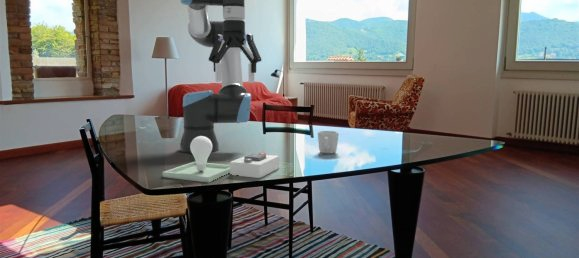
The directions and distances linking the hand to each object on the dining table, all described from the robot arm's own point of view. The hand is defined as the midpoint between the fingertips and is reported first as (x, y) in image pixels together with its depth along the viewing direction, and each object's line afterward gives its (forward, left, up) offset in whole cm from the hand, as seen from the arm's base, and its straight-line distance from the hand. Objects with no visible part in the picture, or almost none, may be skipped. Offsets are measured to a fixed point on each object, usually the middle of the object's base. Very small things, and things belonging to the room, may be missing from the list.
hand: (234, 82), depth 149 cm
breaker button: (+16, -16, -26) cm, 35 cm away
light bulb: (+2, -25, -27) cm, 37 cm away
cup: (+28, +21, -27) cm, 44 cm away
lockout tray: (+2, -25, -27) cm, 37 cm away
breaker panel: (+16, -16, -27) cm, 35 cm away
